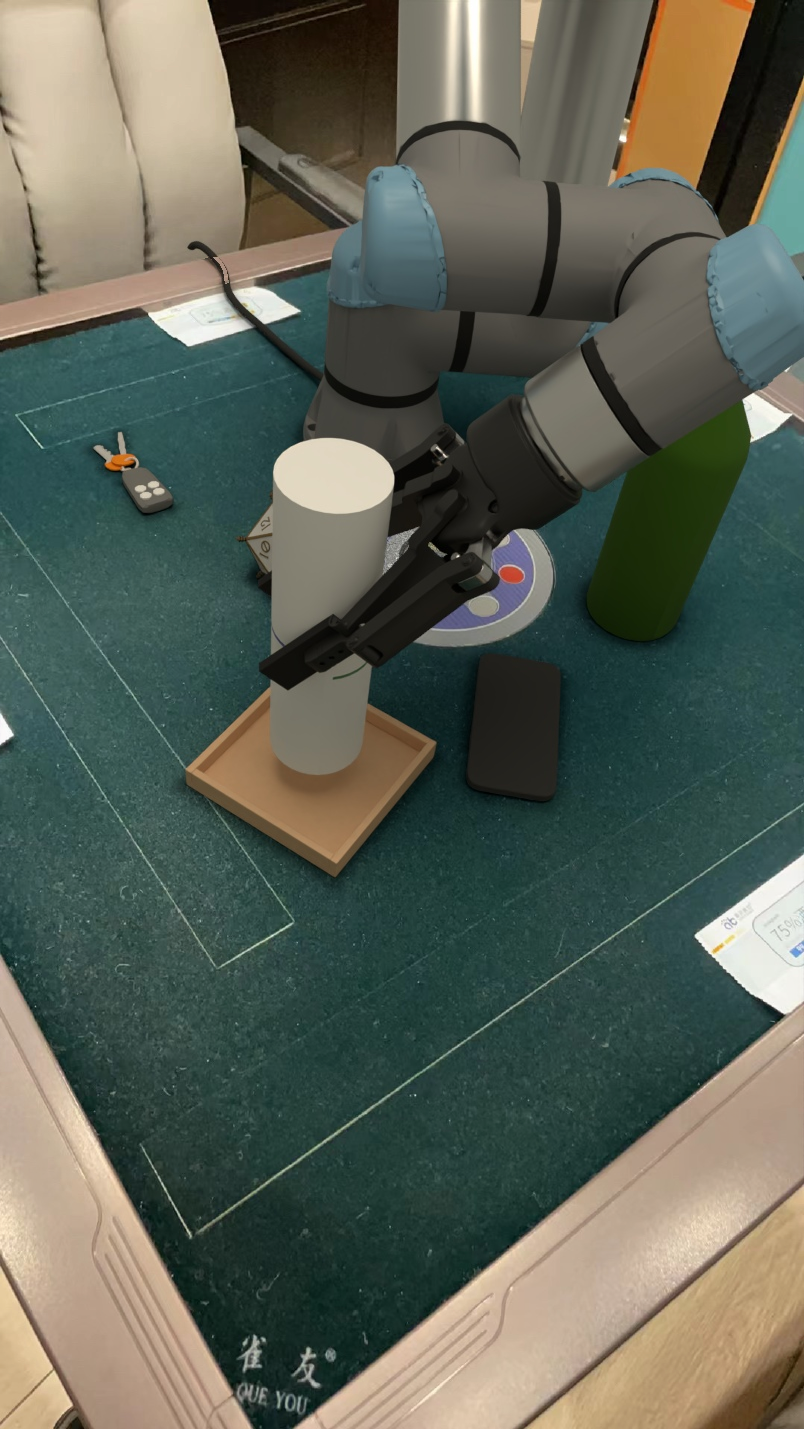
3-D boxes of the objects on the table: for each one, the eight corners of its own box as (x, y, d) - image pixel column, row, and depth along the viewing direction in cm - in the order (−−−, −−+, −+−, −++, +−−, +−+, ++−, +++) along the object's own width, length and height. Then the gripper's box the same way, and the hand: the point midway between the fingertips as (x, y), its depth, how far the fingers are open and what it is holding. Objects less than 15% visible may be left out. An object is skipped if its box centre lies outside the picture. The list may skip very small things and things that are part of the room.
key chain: (178, 506, 103) (177, 494, 102) (142, 517, 101) (141, 505, 100) (121, 434, 109) (120, 422, 108) (87, 443, 108) (85, 431, 106)
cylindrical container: (269, 702, 83) (273, 435, 64) (360, 702, 84) (389, 440, 65) (269, 775, 78) (273, 512, 59) (365, 774, 79) (399, 515, 60)
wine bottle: (694, 611, 101) (836, 292, 76) (643, 657, 96) (777, 332, 72) (619, 564, 105) (731, 243, 80) (566, 605, 100) (669, 279, 75)
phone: (562, 664, 94) (557, 798, 84) (560, 670, 94) (554, 804, 84) (480, 650, 94) (465, 783, 84) (478, 657, 94) (463, 789, 84)
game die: (305, 597, 102) (374, 532, 97) (273, 629, 95) (345, 559, 90) (240, 529, 101) (306, 459, 96) (202, 556, 93) (271, 481, 89)
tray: (186, 784, 82) (185, 769, 81) (294, 677, 90) (295, 661, 89) (335, 877, 78) (336, 863, 77) (433, 757, 86) (436, 742, 85)
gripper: (623, 596, 58) (315, 774, 68) (555, 387, 70) (304, 564, 80) (550, 518, 53) (231, 723, 63) (491, 309, 66) (233, 507, 76)
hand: (272, 633), depth 72 cm, fingers closed on cylindrical container, 7 cm apart
